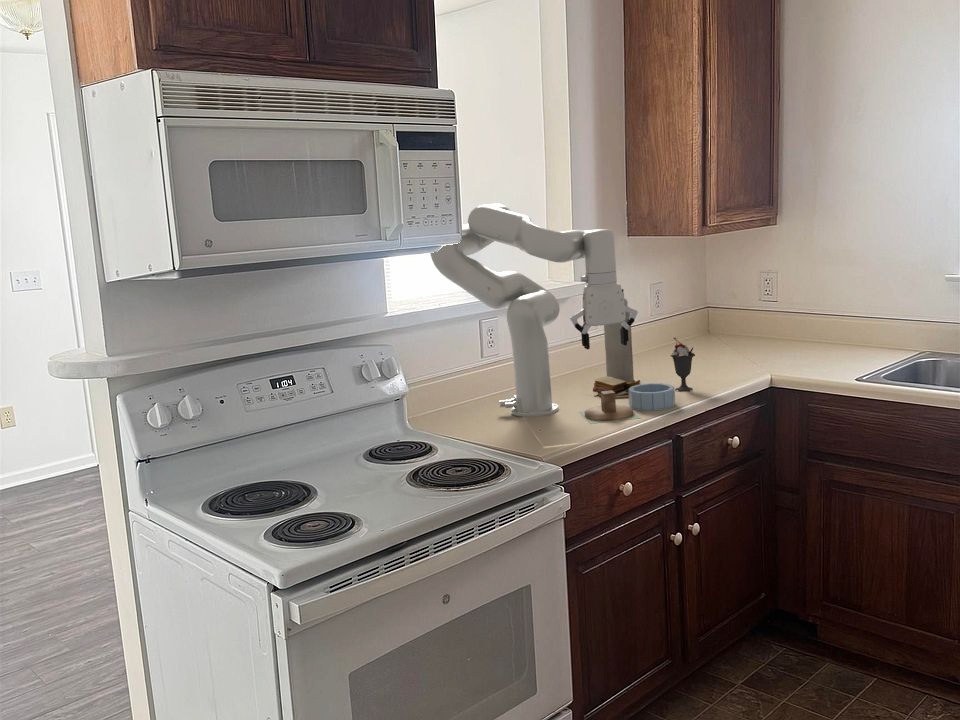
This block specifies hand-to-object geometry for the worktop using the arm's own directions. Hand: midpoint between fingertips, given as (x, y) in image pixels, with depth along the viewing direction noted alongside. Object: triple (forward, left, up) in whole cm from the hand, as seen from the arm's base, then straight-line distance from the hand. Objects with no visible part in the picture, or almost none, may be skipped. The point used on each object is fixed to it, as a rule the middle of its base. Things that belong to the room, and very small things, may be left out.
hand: (605, 346), depth 224 cm
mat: (0, 0, -18) cm, 18 cm away
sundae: (+27, +20, -18) cm, 38 cm away
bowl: (+13, +5, -18) cm, 23 cm away
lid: (0, 0, -18) cm, 18 cm away
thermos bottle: (+14, +39, -18) cm, 45 cm away
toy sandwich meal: (+8, +23, -19) cm, 30 cm away
